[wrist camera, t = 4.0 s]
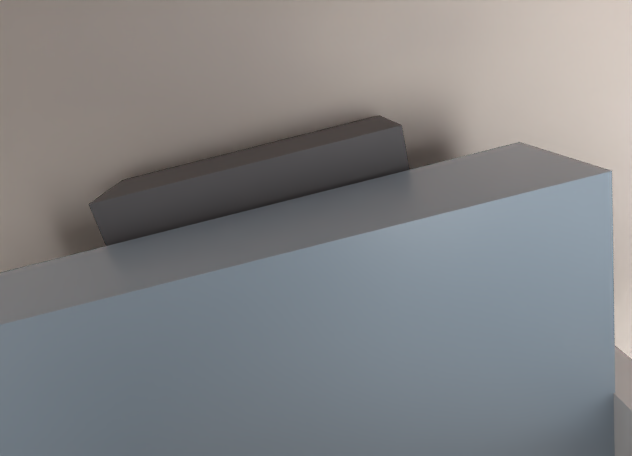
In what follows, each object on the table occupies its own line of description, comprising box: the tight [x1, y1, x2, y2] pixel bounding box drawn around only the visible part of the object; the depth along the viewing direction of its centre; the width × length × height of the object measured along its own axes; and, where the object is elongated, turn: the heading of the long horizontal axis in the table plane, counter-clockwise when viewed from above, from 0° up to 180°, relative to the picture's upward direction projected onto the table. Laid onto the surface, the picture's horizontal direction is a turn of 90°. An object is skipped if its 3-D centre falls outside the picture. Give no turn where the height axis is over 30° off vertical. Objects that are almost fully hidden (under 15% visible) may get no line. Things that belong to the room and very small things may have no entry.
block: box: [89, 116, 409, 246], centre depth 12 cm, size 12×6×2 cm, turn 13°
